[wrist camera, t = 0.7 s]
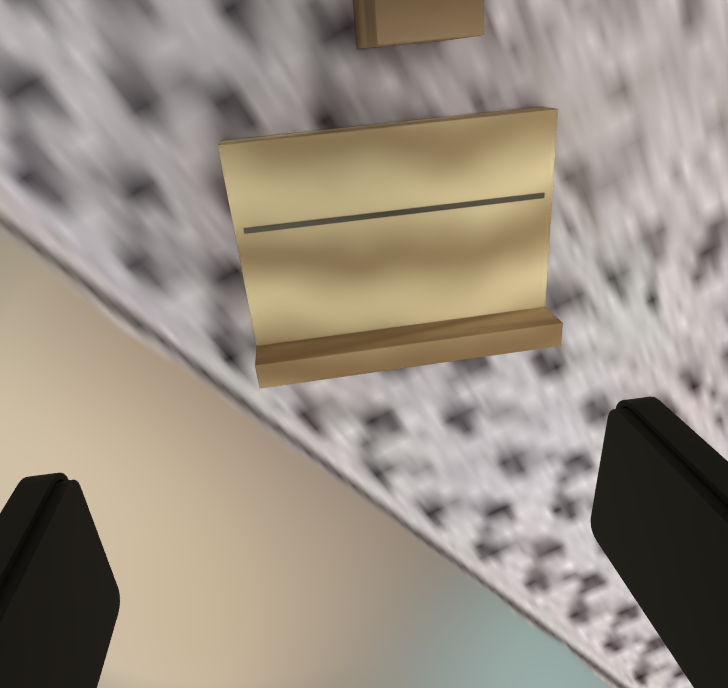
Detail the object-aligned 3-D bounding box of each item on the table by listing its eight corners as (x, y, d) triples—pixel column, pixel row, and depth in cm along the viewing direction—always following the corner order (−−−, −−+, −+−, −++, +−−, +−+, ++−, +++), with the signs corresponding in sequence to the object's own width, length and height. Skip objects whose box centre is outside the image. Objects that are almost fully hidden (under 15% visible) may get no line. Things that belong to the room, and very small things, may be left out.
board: (221, 140, 30) (212, 152, 26) (542, 106, 32) (579, 112, 28) (261, 352, 36) (259, 388, 32) (531, 315, 38) (560, 345, 34)
